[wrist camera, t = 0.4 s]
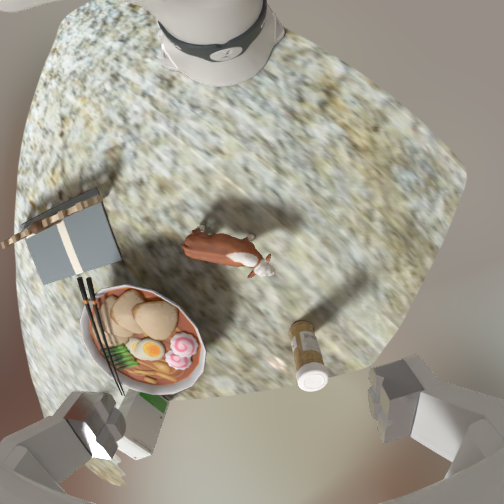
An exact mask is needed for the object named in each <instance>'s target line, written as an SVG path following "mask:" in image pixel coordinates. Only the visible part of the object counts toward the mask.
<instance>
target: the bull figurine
mask: <svg viewBox="0 0 504 504" xmlns="http://www.w3.org/2000/svg"><path fill="white" fill-rule="evenodd" d="M205 229H206V226H205V225H200V226H197V228H196V229H195V230H192V233H193V234H190V235H188V236H187V238H186V239H185V244H182V245H181V247H182V249H184V253H185V254H186V255H187V256H189V257H191V258H193V259H199V260H204V261H208V262H213V263H218V264H224V265H231V266H235V267H239V266H247V267H252V268H254V270H253V271H252V272H251V273H250V274H249V275H248V278H252V277H253V276H254V275H255V274H258V275H259V276H261V277H265V276H267V275H268V276H272V275H273V274H274V273H275V271H274V268H273V267H272V266H270V264H269V263H268V262H269V261H270V258H271V254H269V255H268V256H267V257H266V259H264V258H263V257H262V255H261V254H260V253H259V252H258V251H257V250H256V249H255V246H254V244H253V243H251V242H250V241H251V240H254V239H255V235H254V234H250V235H247V237H246V238H244V239H241V240H240V239H238V238H235V237H232V236H230V235H227V234H222V233H219V234H214V235H208V234H206V233H203V232H201V231H204V230H205Z"/></svg>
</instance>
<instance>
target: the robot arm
mask: <svg viewBox="0 0 504 504" xmlns="http://www.w3.org/2000/svg"><path fill="white" fill-rule="evenodd" d="M54 1H59V0H0V11H4V12H21V11H25V10H28V9H31V8H33V7H36V6H39V5H43V4H46V3H50V2H54ZM119 1H124V2H129V3H133V4H136V5H139V6H142V7H144V8H145V9H147V10H148V11H149V12H150V13H151V14H153V15H154V16H155V17H156V20H157V22H158V23H159V26H160V29H158V35H159V37H161V50H162V64H163V66H164V67H165V68H167V69H170V70H174V71H180V72H182V73H184V74H186V75H187V76H188V77H190V78H191V79H193V80H195V81H197V82H199V83H201V84H204V85H209V86H216V87H223V86H231V85H235V84H239V83H241V82H244V81H246V80H248V79H250V78H251V77H253V76H254V75H256V74H257V73H258V72H259V71H260V70H261V69H262V68H263V67H264V65H265V64H266V62H267V60H268V58H269V56H270V53H271V51H272V49H273V47H274V46H275V45H276V44H277V43H278V42H279V41H280V40H281V39H282V38H283V37H284V34H285V30H284V28H283V26H282V25H281V23H280V22H279V20H278V19H277V17H276V15H275V13H273V11H272V10H271V8H270V7H269V5H268V4H267V1H266V0H119ZM369 380H370V383H371V385H372V386H371V387H370V388H369V390H368V402H369V408H370V411H371V414H372V417H373V418H374V419H376V420H378V426H377V429H378V432H379V434H380V436H381V438H382V441H383V443H387V442H390V441H394V440H398V439H401V438H404V437H407V436H411V437H412V438H413V439H415V440H417V441H418V442H420V443H421V444H423V445H424V446H426V447H428V448H429V449H431V450H433V451H434V452H436V453H438V454H439V455H441V456H443V457H444V458H446V459H448V460H449V461H451V462H452V464H451V467H450V468H449V471H448V472H447V474H446V476H445V478H444V480H441V481H439V482H437V483H435V484H432V485H430V486H428V487H425V488H422V489H420V490H417V491H415V492H412V493H409V494H407V495H404V496H401V497H398V498H395V499H392V500H389V501H386V502H383V503H379V504H504V400H502V399H499V398H495V397H492V396H489V395H485V394H482V393H479V392H475V391H472V390H469V389H466V388H463V387H460V386H457V385H454V384H451V383H447V382H444V383H441V382H440V381H439V380H438V378H437V377H436V376H435V375H434V373H433V372H432V371H431V370H430V368H429V367H428V366H427V365H426V363H425V362H424V361H423V360H422V359H421V357H420V356H419V355H417V354H414V355H412V356H409V357H405V358H402V359H401V360H397V361H394V362H390V363H387V364H383V365H379V366H376V367H372V368H370V371H369ZM115 406H116V402H115V400H114V398H113V397H112V395H110V394H106V393H95V392H84V391H73V392H72V393H71V394H70V395H69V396H68V398H67V399H66V400H65V401H64V402H63V404H62V405H61V406H60V407H59V409H58V410H57V411H56V412H55V414H54V415H53V416H48V417H46V418H44V419H42V420H40V421H38V422H36V423H34V424H32V425H30V426H28V427H26V428H24V429H22V430H20V431H17V432H15V433H13V434H11V435H9V436H7V437H5V438H4V439H3V440H2V441H1V442H0V504H95V503H91V502H88V501H85V500H81V499H79V498H76V497H73V496H70V495H67V494H66V492H65V491H64V490H63V489H62V488H61V487H60V486H59V485H58V484H59V483H61V482H62V481H63V480H64V479H66V478H67V477H68V476H70V475H71V474H72V473H74V472H75V471H76V470H77V469H79V468H80V467H81V466H82V465H84V464H85V463H86V462H87V461H89V460H90V459H91V458H92V457H98V458H104V459H110V460H112V458H113V456H114V454H115V452H116V450H117V448H118V444H117V441H118V440H120V439H121V438H123V436H124V434H125V432H126V422H125V418H124V416H123V414H122V413H121V412H120V411H119V410H118V409H116V408H115Z"/></svg>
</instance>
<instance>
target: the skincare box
mask: <svg viewBox="0 0 504 504" xmlns="http://www.w3.org/2000/svg"><path fill="white" fill-rule="evenodd" d="M168 406H169V401H168V400H167V399H165V398H164V397H163V396H161V395H151V394H147V393H143V392H139V391H136V390H132V389H129V390H128V392H127V394H126V396H125V398H124V400H123V402H122V404H121V406H120V408H119V411H120V412H121V413H122V414H123V416H124V418H125V422H126V432H125V434H124V436H123V438H121V439H120V440H118V441H117V444H118V449H119V450H120V451H122V452H124V453H126V454H127V455H128V456H130V457H131V458H133V459H135V460H138V459H141V458H144V457H147V456H150V455H152V453H153V450H154V447H155V444H156V441H157V438H158V435H159V432H160V429H161V426H162V423H163V420H164V417H165V414H166V411H167V409H168Z"/></svg>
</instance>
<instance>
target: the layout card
mask: <svg viewBox="0 0 504 504" xmlns="http://www.w3.org/2000/svg"><path fill="white" fill-rule="evenodd" d="M98 195H99V193H98V190H97V188H94V189H92V190H90V191H88V192H85V193H83V194H81V195H79V196H77V197H75V198H73V199H71V200H69V201H67V202H64V203H62V204H60V205H58V206H56V207H54V208H52V209H51V210H49V211H47V212H45V213H43V214H41V215H39V216H37V217H35V218H33V219H32V220H30V221H28V222H26V223H24V224H23V225H21V229H22V231H24V229H26V228H28V227H30V226H31V223H32V222H35V221H37V220H39V219H42V218H44V217H47V216H49V215H51V214H54V213H56V212H60V211H62V210H64V209H67V208H69V207H72V206H75V204H76V203H79V202H81V201H84V200H87V199H89V198H92V197H95V196H98ZM25 240H26V243H27V245H28V248H29V251H30V253H31V256H32V258H33V261H34V263H35V266H36V268H37V271H38V273H39V275H40V278H41V280H42V282H43V284H44V285H45V284H48V283H51V282H54V281H57V280H61V279H64V278H67V277H70V276H73V275H76V274H80V273H83V272H86V271H89V270H92V269H95V268H99V267H102V266H105V265H108V264H112V263H115V262H118V261H122V257H121V255H120V252H119V249H118V247H117V244H116V242H115V239H114V236H113V234H112V231H111V228H110V225H109V223H108V220H107V217H106V214H105V211H104V208H103V205H102V202H101V203H98V204H96V205H93V206H91V207H88V208H86V209H84V210H82V211H80V212H77V213H75V214H72V215H70V216H68V217H66V218H64V219H62V221H61V223H59V224H56V225H54V226H52V227H50V228H48V229H46V230H44V231H42V232H40V233H38V234H31V235H29V236H27V237H25Z"/></svg>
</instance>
